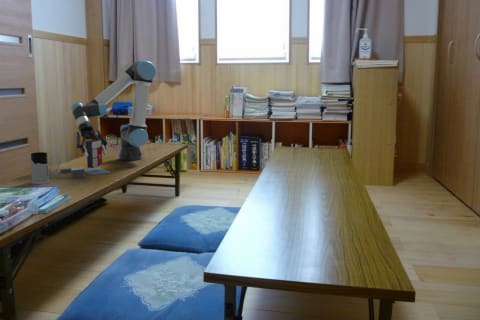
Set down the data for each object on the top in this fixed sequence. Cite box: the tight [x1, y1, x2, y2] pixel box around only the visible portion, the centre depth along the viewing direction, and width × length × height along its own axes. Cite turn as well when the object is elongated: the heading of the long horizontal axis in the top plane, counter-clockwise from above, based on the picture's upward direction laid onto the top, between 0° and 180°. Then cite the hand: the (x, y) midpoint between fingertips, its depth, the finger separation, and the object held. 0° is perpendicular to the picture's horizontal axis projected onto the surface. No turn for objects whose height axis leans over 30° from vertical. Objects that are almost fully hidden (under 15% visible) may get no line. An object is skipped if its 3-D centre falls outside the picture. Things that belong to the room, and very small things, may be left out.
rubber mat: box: [84, 167, 112, 176], centre depth 254 cm, size 11×16×1 cm
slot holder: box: [59, 166, 85, 179], centre depth 245 cm, size 6×20×5 cm, turn 41°
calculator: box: [85, 139, 103, 169], centre depth 252 cm, size 11×4×15 cm, turn 169°
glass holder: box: [30, 151, 61, 185], centre depth 226 cm, size 9×14×15 cm, turn 111°
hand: (96, 155), depth 250 cm, fingers closed on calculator, 10 cm apart
